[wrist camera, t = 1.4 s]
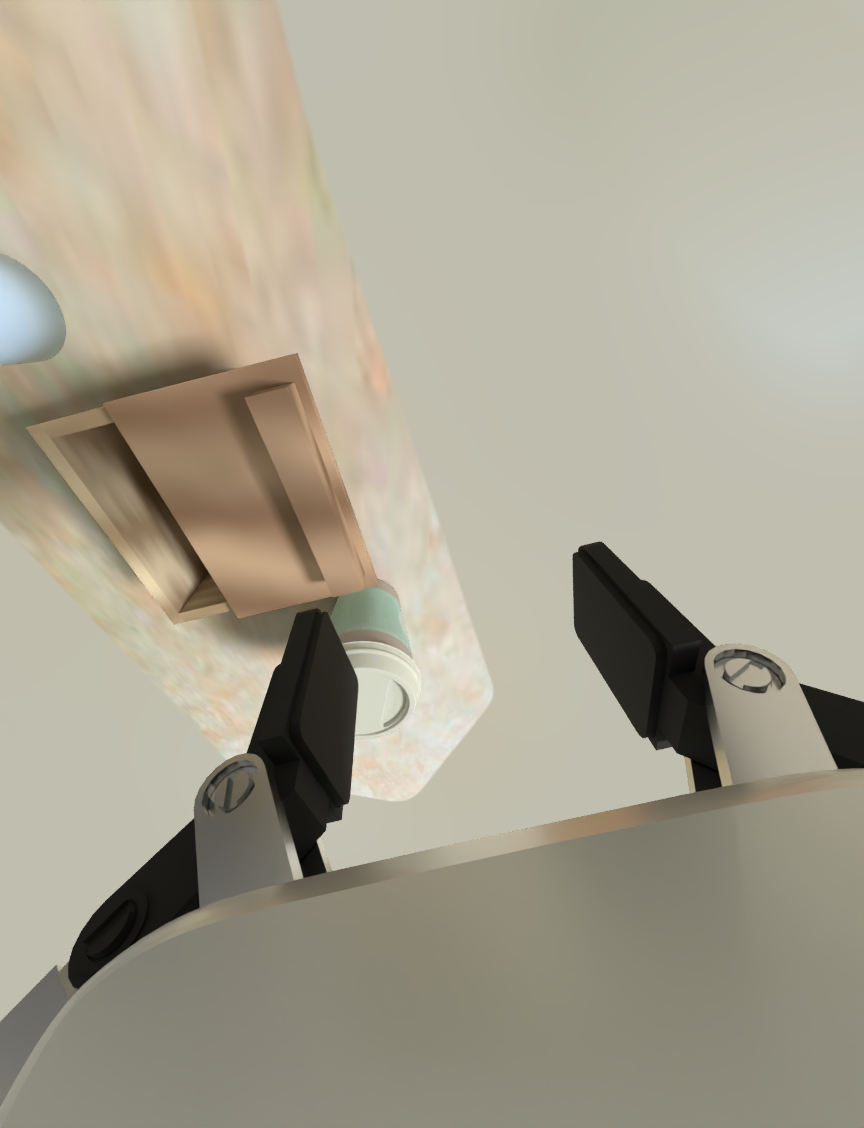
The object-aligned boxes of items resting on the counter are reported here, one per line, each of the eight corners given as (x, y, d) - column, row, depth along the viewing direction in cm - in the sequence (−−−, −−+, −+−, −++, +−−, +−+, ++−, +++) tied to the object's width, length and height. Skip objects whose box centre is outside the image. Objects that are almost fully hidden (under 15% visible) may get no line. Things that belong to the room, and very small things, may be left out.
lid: (111, 400, 20) (74, 409, 18) (297, 353, 20) (285, 356, 17) (241, 611, 28) (228, 638, 25) (377, 579, 27) (376, 603, 25)
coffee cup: (375, 649, 40) (372, 758, 30) (304, 608, 37) (273, 716, 26) (431, 597, 37) (448, 697, 27) (360, 547, 34) (349, 641, 24)
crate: (106, 405, 26) (25, 427, 20) (247, 369, 26) (206, 380, 20) (211, 572, 34) (174, 624, 28) (322, 545, 33) (308, 592, 27)
